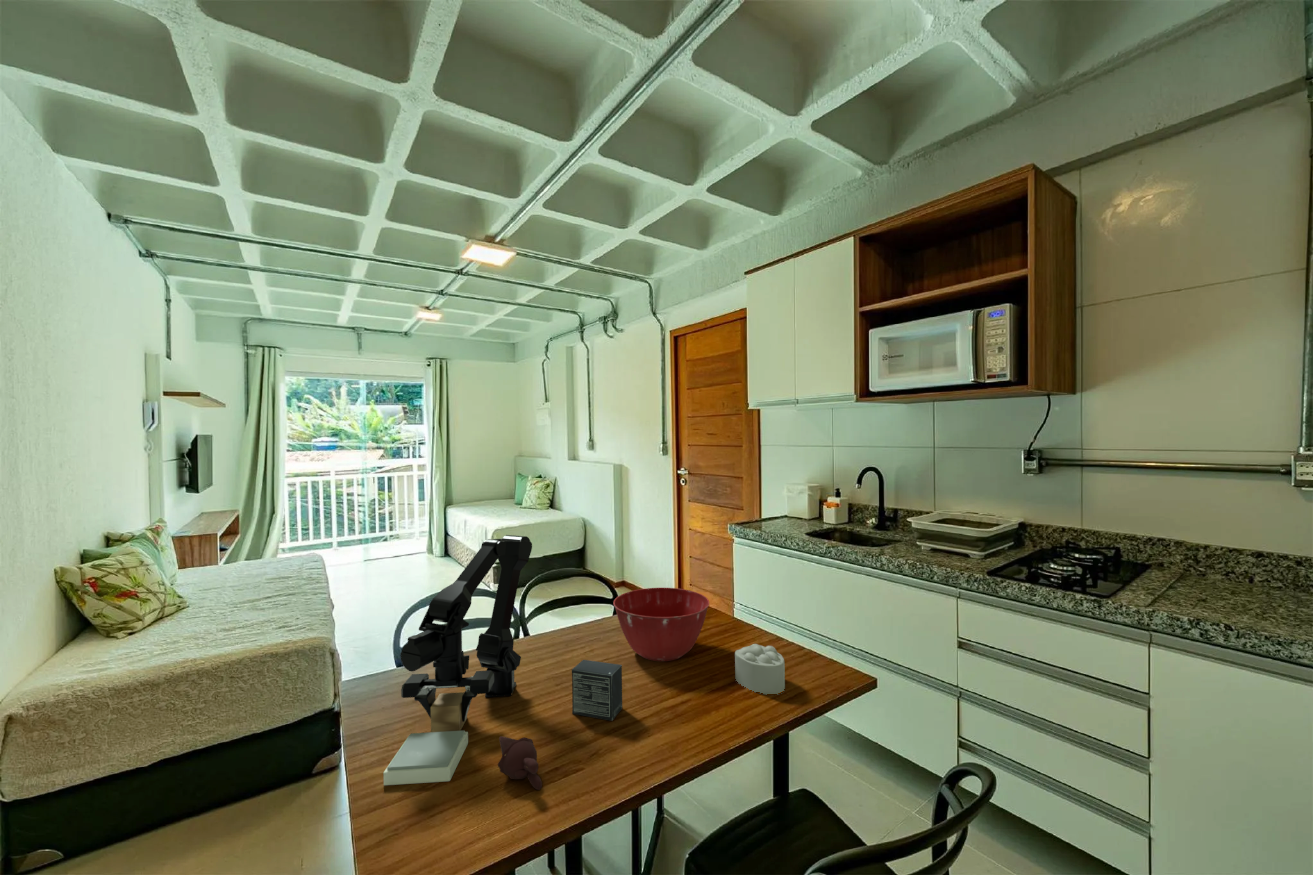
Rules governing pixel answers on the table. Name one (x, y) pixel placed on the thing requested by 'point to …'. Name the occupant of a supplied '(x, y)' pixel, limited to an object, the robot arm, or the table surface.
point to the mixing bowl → (661, 621)
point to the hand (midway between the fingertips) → (449, 721)
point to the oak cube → (447, 712)
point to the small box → (597, 689)
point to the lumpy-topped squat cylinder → (760, 669)
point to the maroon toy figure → (519, 760)
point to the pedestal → (427, 758)
